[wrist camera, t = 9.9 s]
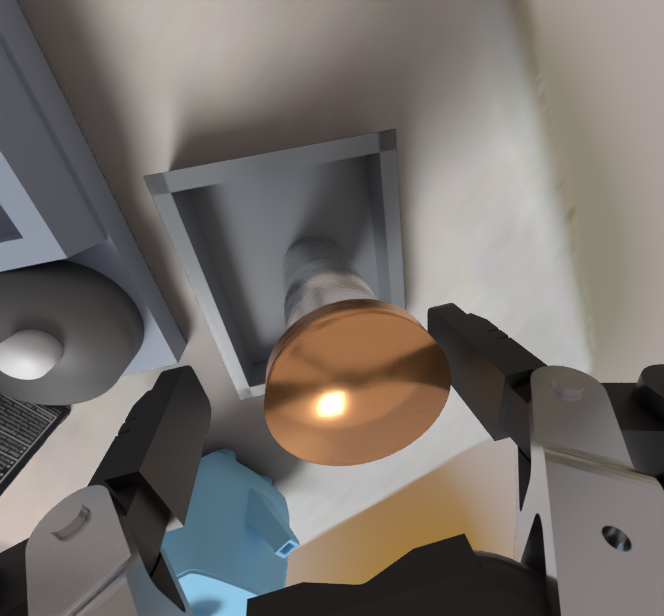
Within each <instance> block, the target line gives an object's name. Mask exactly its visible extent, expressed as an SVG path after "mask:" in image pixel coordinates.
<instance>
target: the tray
mask: <svg viewBox="0 0 664 616" xmlns="http://www.w3.org/2000/svg"><path fill="white" fill-rule="evenodd" d="M143 177H144V180H145V182H146V184H147V187H148V189H149V191H150V193H151V196H152V198H153V200H154V203H155V205H156V207H157V209H158V212H159V214H160V216H161V219H162V221H163V223H164V226H165V228H166V230H167V232H168V235H169V237H170V239H171V242H172V244H173V246H174V248H175V251H176V253H177V255H178V258H179V260H180V262H181V265H182V267H183V269H184V271H185V274H186V276H187V278H188V281H189V283H190V285H191V287H192V290H193V292H194V294H195V297H196V299H197V301H198V304H199V306H200V308H201V310H202V313H203V315H204V317H205V320H206V322H207V324H208V327H209V329H210V331H211V333H212V336H213V338H214V340H215V343H216V345H217V347H218V349H219V352H220V354H221V356H222V359H223V361H224V363H225V366H226V368H227V370H228V372H229V375H230V377H231V379H232V382H233V384H234V386H235V388H236V391H237V393H238V395H239V398H240V400H243V399H247V398H251V397H255V396H259V395H263V394H265V383H266V368H267V364H268V360H269V357H270V355H271V352H272V350H273V348H274V346H275V345H276V343H277V341H278V340H279V339H280V337H281V336H282V335H283V334H284V332H285V325H284V298H283V271H282V266H283V260H284V257H285V255H286V253H287V251H288V250H289V249H290V248H291V247H292V245H294V244H295V243H296V242H298V241H299V240H301V239H304V238H307V237H312V236H320V237H325V238H328V239H330V240H332V241H334V242H335V243H336V244H338V245H339V246H340V247H341V249H342V250H343V252H344V253H345V254H346V256H347V257H348V259H349V260H350V261H351V263H352V264H353V266H354V267H355V268H356V270H357V271H358V273H359V274H360V275H361V277H362V278H363V280H364V281H365V282H366V284H367V285H368V287H369V288H370V289H371V291H372V292H373V294H374V295H375V296H376V298H377V299H378V300H380V301H384V302H388V303H391V304H393V305H396V306H398V307H400V308H402V309H404V310H405V295H404V277H403V258H402V240H401V221H400V203H399V184H398V166H397V147H396V129H391V130H386V131H381V132H375V133H370V134H365V135H359V136H354V137H349V138H343V139H338V140H333V141H327V142H322V143H317V144H312V145H306V146H301V147H296V148H290V149H285V150H280V151H274V152H269V153H264V154H258V155H253V156H248V157H242V158H237V159H232V160H226V161H221V162H216V163H211V164H205V165H200V166H195V167H189V168H184V169H179V170H173V171H168V172H163V173H157V174H152V175H147V176H143Z"/></svg>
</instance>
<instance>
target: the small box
mask: <svg viewBox="0 0 664 616" xmlns="http://www.w3.org/2000/svg"><path fill="white" fill-rule="evenodd" d="M69 414H70V411H69V410H68V409H66V408H64V407H63V406H61V405H42V404H35V403H29V402H24V401H20V400H16V399H13V398H10V397H7V396H4V395H2V394H0V496H1V495H2V494H3V492H4V491H5V490H6V489H7V487H8V486H9V485H10V484H11V483H12V481H13V480H14V479H15V478H16V477H17V475H18V474H19V473H20V471H21V470H22V469H23V468H24V467H25V465H26V464H27V463H28V462H29V460H30V459H31V458H32V457H33V455H34V454H35V453H36V452H37V451H38V450H39V449H40V447H41V446H42V445H43V444H44V443H45V441H46V440H47V438H48V437H49V436H50V435H51V434H52V432H53V431H54V430H55V429H56V428H57V426H58V425H59V424H60V423H62V422H63V421H64V420H65V419H66V418H67V416H68V415H69Z"/></svg>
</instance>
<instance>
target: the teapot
mask: <svg viewBox="0 0 664 616" xmlns="http://www.w3.org/2000/svg"><path fill="white" fill-rule="evenodd" d="M271 484H272V479H271V478H270V477H268V476H263V475H262V476H259V475H258V474H256V473H255V472H253V471H252V470H250V469H249V468H247V467H245V466H244V465H242V464H240V463H239V462H237V461H236V453H235V452H234V451H232V450H230V449H219V450H217V451H215V452H212V453H210V454H208V455H206V456H204V457H203V458H201V460H200V464H199V468H198V472H197V476H196V480H195V484H194V488H193V492H192V496H191V500H190V504H189V508H188V512H187V516H186V520H185V524H184V527H181V528H177V529H174V530H170V531H167V532H165V535H164V538H163V541H162V545H161V547H162V548H163V549H164V550H165V552H166V554H167V556H168V558H169V561H170V563H171V565H172V567H173V569H174V572H175V574H176V576H177V578H178V580H179V583H180V585H181V587H182V589H183V591H184V594H185V596H186V598H187V600H188V602H189V605H190V607H191V609H192V611H193V613H194V615H195V616H246V609H247V599H249V598H253V597H256V596H259V595H263V594H266V593H269V592H272V591H276V590H279V589H282V588H285V585H286V575H287V565H288V555H289V554H290V553H291V552H292V551H293V550H294V549H295V548H296V547H297V546H299V545H300V544H299V541H298V539H297V538H296V536H295V535H294V533H293V532H292V530H291V529H290V527H289V513H288V507H287V503H286V500H285V497H284V496H283V495H282V494H281V493H280V492H279V491H278V490H277V489H275V488H274V487H273V486H272V485H271Z"/></svg>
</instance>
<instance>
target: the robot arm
mask: <svg viewBox="0 0 664 616" xmlns="http://www.w3.org/2000/svg"><path fill="white" fill-rule="evenodd" d="M428 333H429V334H430V335H431V337H432V338H433V339H434V340H435V341H436V342H437V343H438V345H439V346H440V347H441V349H442V350H443V352H444V353H445V355H446V357H447V360H448V362H449V366H450V371H451V385H452V387H453V388H454V389H455V390H456V392H457V393H458V394H459V396H460V397H461V398H462V399H463V401H464V402H465V403H466V405H467V406H468V407H469V408H470V410H471V411H472V412H473V414H474V415H475V416H476V417H477V419H478V420H479V421H480V423H481V424H482V425H483V426H484V428H485V429H486V430H487V432H488V433H489V434H490V435H491V437H492V438H493V439H494V441H497V440H501V439H504V438H508V437H511V439H512V440H513V441H514V442H515V443H516V448H515V475H516V476H515V478H516V530H515V539H514V557H513V559H511V558H508V557H504V556H501V555H498V554H495V553H490V552H484V551H475V550H472V548H471V546H470V544H469V542H468V540H467V538H466V536H465V534H461V535H458V536H454V537H451V538H448V539H444V540H441V541H438V542H435V543H431V544H428V545H425V546H421V547H418V548H415V549H413V550H411V551H410V552H408V553H407V554H406V555H404V556H403V557H401V558H400V559H399V560H397V561H396V562H395V563H393V564H392V565H390V566H389V567H387V568H386V569H385V570H383V571H382V572H380V573H379V574H378V575H377V576H375V577H373V578H372V579H371V580H369V581H368V582H366V583H364V584H361V585H349V584H328V583H306V582H302V583H299V584H296V585H292V586H289V587H286V588H282V589H279V590H276V591H272V592H269V593H266V594H263V595H259V596H256V597H253V598H249V599H247V609H246V616H664V364H660V365H652V366H648V367H646V368H645V369H644V370H643V371H642V373H641V375H640V377H639V379H638V382H637V383H599V382H598V381H597V380H596V379H594V378H593V377H591V376H590V375H588V374H586V373H584V372H581V371H579V370H576V369H573V368H569V367H564V366H547V365H546V364H545V363H543V362H542V361H541V360H539V359H538V358H537V357H535V356H534V355H533V354H532V353H530V352H529V351H528V350H526V349H525V348H524V347H522V346H521V345H520V344H518V343H517V342H516V341H514V340H513V339H512V338H509V337H508V335H507V334H505V333H504V332H503V331H501V330H498V328H497V327H496V326H495V325H493V324H492V323H491V322H489V321H488V320H487V319H484V318H482V317H479V316H477V315H474V314H472V313H470V314H466V313H465V312H464V311H462V310H461V309H460V308H459V307H457V306H456V305H455V304H453V303H448V304H444V305H440V306H436V307H432V308H429V310H428ZM210 419H211V406H210V402H209V399H208V397H207V395H206V393H205V391H204V390H203V388H202V386H201V384H200V382H199V380H198V378H197V376H196V374H195V372H194V370H193V369H192V367H190V366H188V365H187V366H182V367H178V368H174V369H170V370H166V371H163V372H162V373H161V374H160V376H159V377H158V379H157V381H156V383H155V385H154V387H153V389H152V390H150V391H147V392H146V393H145V394H144V395H143V396H142V397H141V398H140V399H139V400H138V401H137V402H136V404H135V405H134V406H133V407H132V409H131V411H130V413H129V414H128V416H127V418H126V420H125V423H123V425H122V427H121V428H120V430H119V432H118V436H116V437H115V439H114V441H113V442H112V444H111V446H110V447H109V449H108V451H107V453H106V454H105V456H104V458H103V460H102V461H101V463H100V465H99V467H98V468H97V470H96V472H95V474H94V475H93V477H92V479H91V481H90V482H89V484H88V486H87V487H85V488H83V489H80V490H78V491H76V492H74V493H72V494H71V495H69V496H68V497H66V498H65V499H63V500H62V501H61V502H59V503H58V504H57V505H56V506H55V507H53V508H52V509H51V510H50V511H49V512H48V513H47V514H46V515H45V516H44V518H43V519H42V520H41V521H40V522H39V524H38V525H37V526H36V528H35V529H34V531H33V532H32V534H31V536H30V538H28V539H26V540H24V541H22V542H20V543H18V544H16V545H15V546H13V547H11V548H9V549H7V550H5V551H3V552H2V553H0V616H195V615H194V613H193V611H192V609H191V607H190V605H189V602H188V600H187V598H186V596H185V594H184V591H183V589H182V587H181V585H180V583H179V580H178V578H177V576H176V574H175V572H174V569H173V567H172V565H171V563H170V561H169V558H168V556H167V554H166V552H165V550H164V549H163V548H162V547H161V545H162V541H163V538H164V535H165V532H167V531H170V530H174V529H177V528H181V527H184V524H185V520H186V516H187V512H188V508H189V504H190V500H191V496H192V492H193V488H194V484H195V480H196V476H197V472H198V468H199V464H200V460H201V456H202V452H203V448H204V443H205V439H206V435H207V431H208V427H209V423H210Z"/></svg>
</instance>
